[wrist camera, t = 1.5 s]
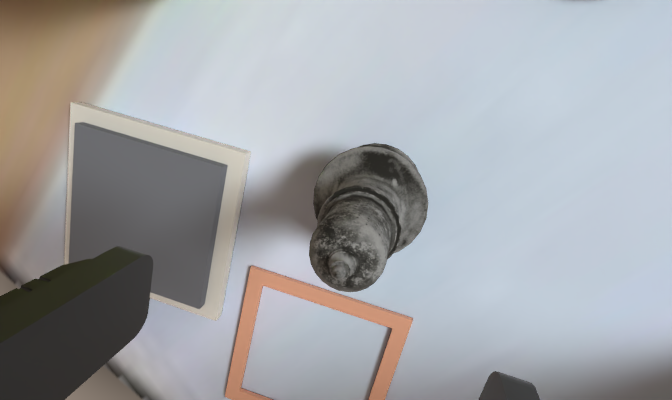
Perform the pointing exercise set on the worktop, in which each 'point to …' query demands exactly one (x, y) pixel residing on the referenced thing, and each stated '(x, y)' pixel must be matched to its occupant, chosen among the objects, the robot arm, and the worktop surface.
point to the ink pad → (155, 202)
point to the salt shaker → (365, 214)
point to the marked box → (323, 297)
